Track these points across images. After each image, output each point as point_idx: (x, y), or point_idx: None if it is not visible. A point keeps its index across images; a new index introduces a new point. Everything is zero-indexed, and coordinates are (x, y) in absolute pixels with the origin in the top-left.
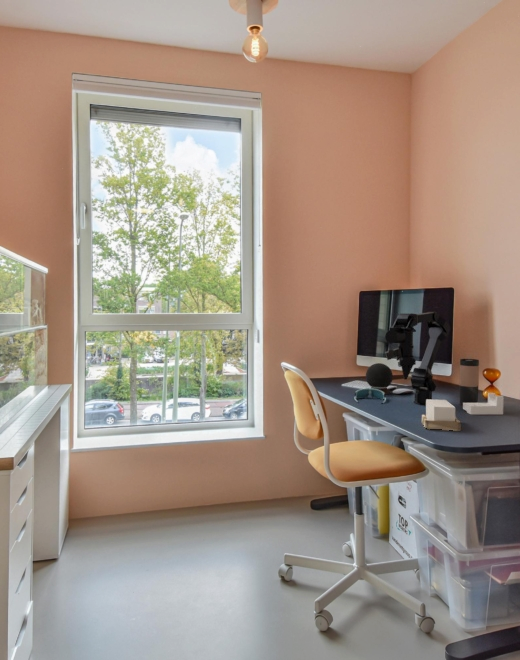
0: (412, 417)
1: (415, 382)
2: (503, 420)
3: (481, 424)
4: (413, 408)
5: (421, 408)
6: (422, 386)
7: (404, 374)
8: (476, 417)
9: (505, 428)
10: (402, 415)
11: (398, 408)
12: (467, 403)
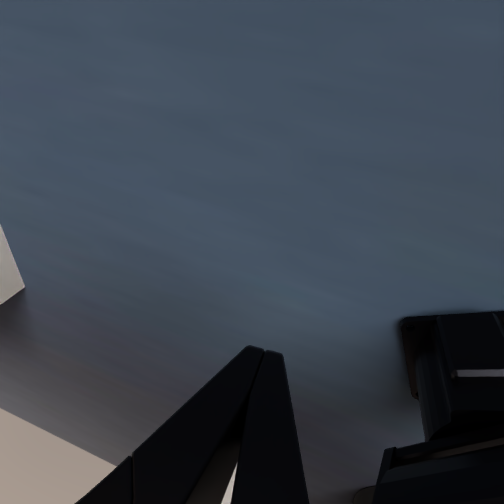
0: (12, 152)
1: (486, 472)
2: (116, 450)
3: (28, 372)
4: (283, 236)
5: (289, 285)
6: (417, 462)
7: (183, 422)
8: (133, 410)
9: (11, 402)
10: (35, 98)
11: (269, 119)
12: (232, 476)
